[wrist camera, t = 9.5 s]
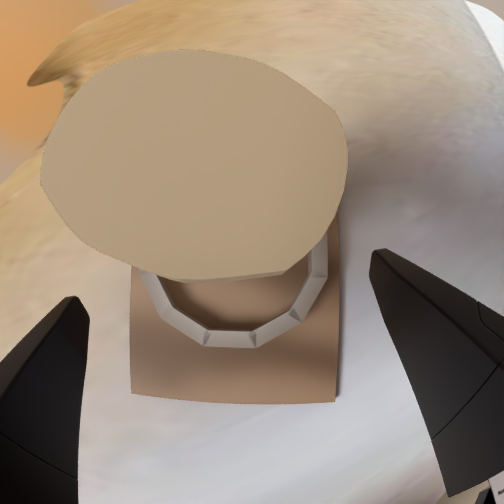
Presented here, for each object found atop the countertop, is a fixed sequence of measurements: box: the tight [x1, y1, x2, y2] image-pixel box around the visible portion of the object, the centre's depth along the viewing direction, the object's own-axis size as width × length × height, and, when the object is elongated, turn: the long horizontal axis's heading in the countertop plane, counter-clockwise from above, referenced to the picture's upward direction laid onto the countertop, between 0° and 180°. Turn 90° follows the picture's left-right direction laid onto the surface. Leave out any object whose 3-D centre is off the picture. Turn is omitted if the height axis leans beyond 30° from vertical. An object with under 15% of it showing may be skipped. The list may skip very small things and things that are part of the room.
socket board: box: [130, 211, 339, 404], centre depth 20 cm, size 20×14×2 cm
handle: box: [40, 49, 348, 283], centre depth 13 cm, size 5×6×15 cm
